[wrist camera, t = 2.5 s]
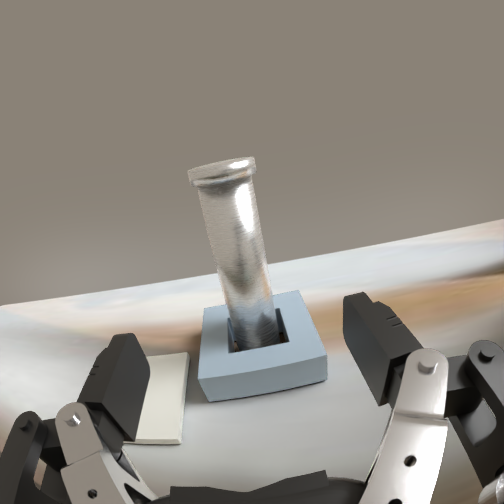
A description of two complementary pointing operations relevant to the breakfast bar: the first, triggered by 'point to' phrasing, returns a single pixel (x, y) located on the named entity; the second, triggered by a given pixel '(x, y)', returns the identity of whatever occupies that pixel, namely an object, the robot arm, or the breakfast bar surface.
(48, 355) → the breakfast bar surface
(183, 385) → the felt pad
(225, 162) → the steel pin
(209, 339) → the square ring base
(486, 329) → the breakfast bar surface
